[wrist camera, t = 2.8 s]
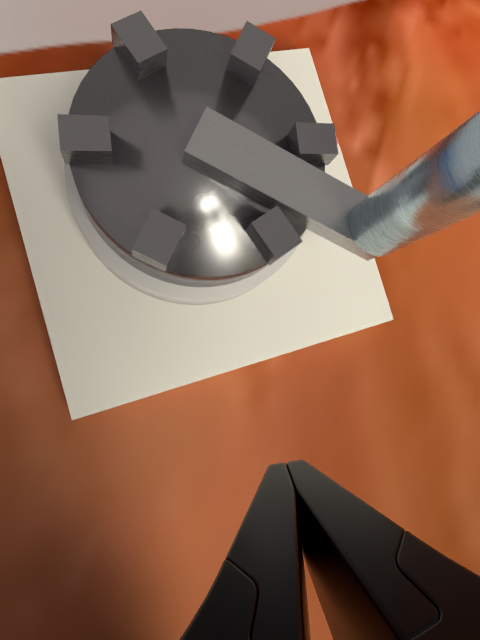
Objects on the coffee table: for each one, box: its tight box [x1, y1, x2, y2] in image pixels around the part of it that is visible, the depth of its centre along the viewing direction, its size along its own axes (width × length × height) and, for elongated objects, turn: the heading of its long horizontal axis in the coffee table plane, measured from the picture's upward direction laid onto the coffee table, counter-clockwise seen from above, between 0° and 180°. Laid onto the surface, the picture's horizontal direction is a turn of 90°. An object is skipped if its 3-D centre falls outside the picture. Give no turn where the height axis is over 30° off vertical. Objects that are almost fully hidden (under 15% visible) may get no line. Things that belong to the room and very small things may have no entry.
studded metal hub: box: [57, 11, 480, 287], centre depth 14 cm, size 15×11×12 cm
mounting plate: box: [0, 48, 394, 420], centre depth 21 cm, size 17×18×3 cm
